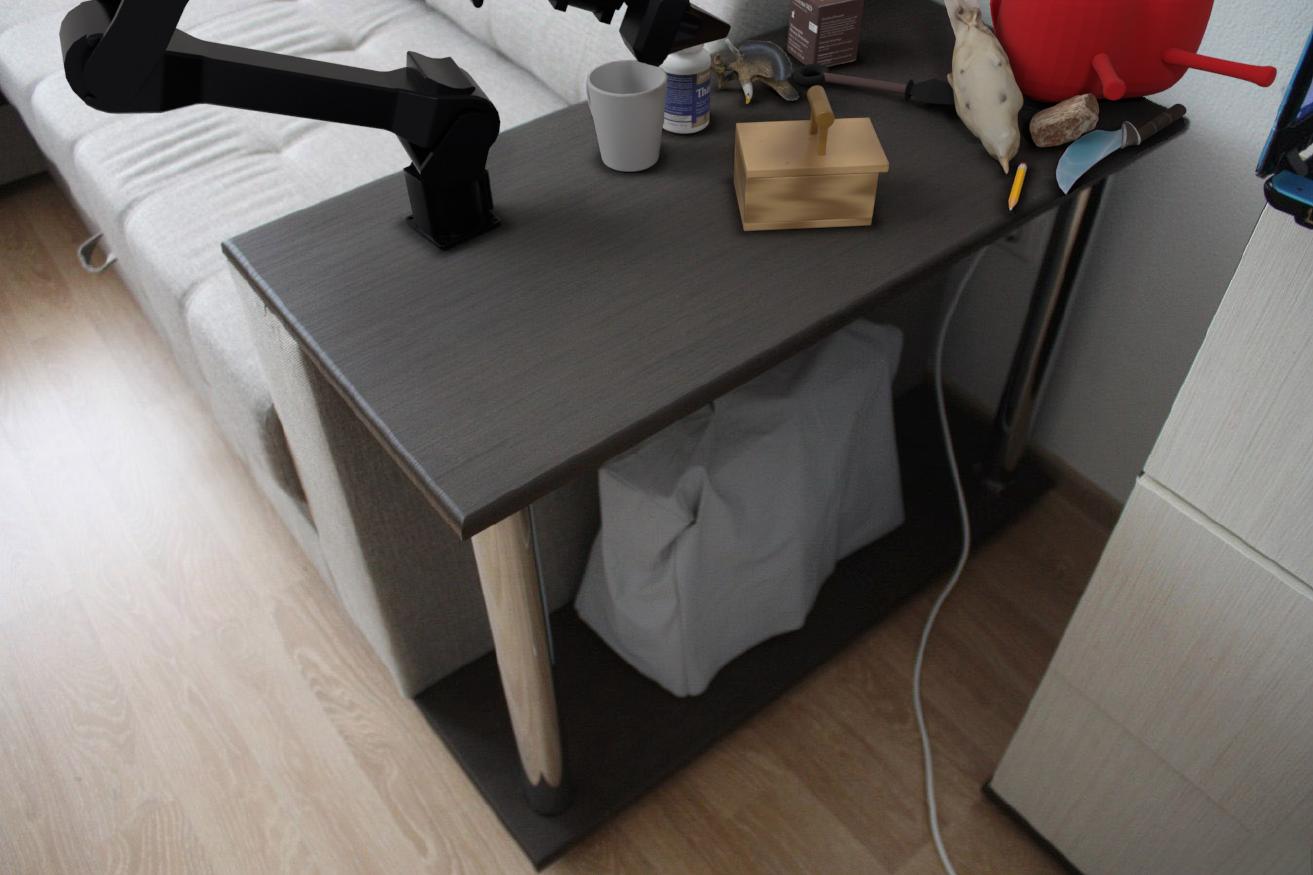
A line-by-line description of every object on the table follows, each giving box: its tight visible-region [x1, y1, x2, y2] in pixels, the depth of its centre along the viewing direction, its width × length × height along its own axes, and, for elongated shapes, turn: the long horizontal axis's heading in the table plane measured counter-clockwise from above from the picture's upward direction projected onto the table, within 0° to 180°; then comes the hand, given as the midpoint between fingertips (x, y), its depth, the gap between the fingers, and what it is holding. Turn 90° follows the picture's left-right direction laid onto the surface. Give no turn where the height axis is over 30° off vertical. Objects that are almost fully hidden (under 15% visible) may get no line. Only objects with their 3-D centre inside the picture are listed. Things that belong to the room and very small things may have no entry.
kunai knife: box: [793, 64, 1043, 111], centre depth 108 cm, size 4×27×3 cm, turn 57°
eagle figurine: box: [711, 38, 800, 105], centre depth 110 cm, size 8×7×9 cm
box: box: [786, 0, 865, 68], centre depth 116 cm, size 6×6×7 cm
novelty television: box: [989, 0, 1278, 105], centre depth 105 cm, size 21×13×30 cm
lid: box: [735, 85, 890, 178], centre depth 90 cm, size 12×9×5 cm
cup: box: [585, 59, 667, 173], centre depth 100 cm, size 8×10×8 cm
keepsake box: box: [733, 133, 880, 232], centre depth 94 cm, size 12×9×5 cm
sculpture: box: [944, 0, 1024, 175], centre depth 102 cm, size 6×25×5 cm
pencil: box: [1008, 162, 1028, 212], centre depth 97 cm, size 1×9×1 cm
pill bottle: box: [659, 44, 712, 135], centre depth 104 cm, size 5×5×10 cm
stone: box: [1029, 93, 1100, 148], centre depth 102 cm, size 7×6×5 cm
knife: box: [1055, 103, 1188, 195], centre depth 102 cm, size 22×2×5 cm
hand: (707, 9), depth 90 cm, fingers open, 9 cm apart
